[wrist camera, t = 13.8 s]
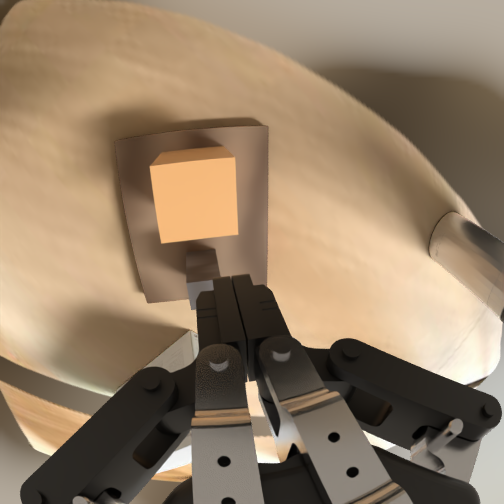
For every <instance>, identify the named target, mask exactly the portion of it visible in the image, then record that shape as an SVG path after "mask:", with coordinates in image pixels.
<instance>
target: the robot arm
mask: <svg viewBox="0 0 504 504" xmlns="http://www.w3.org/2000/svg"><path fill="white" fill-rule="evenodd" d="M429 252H430V256H431V258H432V259H433V260H434V261H436V262H437V263H438V264H439V265H440V266H442V267H443V268H444V269H445V270H447V271H448V272H449V273H450V274H451V275H452V276H454V277H455V278H456V279H457V280H458V281H459V282H461V283H462V284H463V285H464V286H465V287H466V288H467V289H469V290H470V291H471V292H472V293H473V294H474V295H475V296H476V297H477V298H478V299H479V300H481V301H482V302H483V303H484V304H485V305H486V306H487V307H488V308H489V309H490V310H491V311H492V312H493V313H494V314H495V315H496V316H497V317H498V318H499V319H500V320H501V321H502V322H503V323H504V243H503V242H502V241H501V240H499V239H498V238H496V237H495V236H493V235H492V234H490V233H489V232H487V231H486V230H484V229H483V228H481V227H479V226H478V225H476V224H475V223H473V222H472V221H470V220H468V219H467V218H465V217H463V216H462V215H460V214H458V213H456V212H450V213H448V214H446V215H445V216H444V217H443V218H442V219H441V220H440V221H439V223H438V224H437V226H436V227H435V229H434V231H433V234H432V237H431V240H430V245H429ZM212 281H213V290H211V291H202V292H200V294H199V295H198V297H197V299H196V311H197V312H196V313H197V330H198V344H199V352H198V355H197V357H196V359H195V360H194V361H193V362H192V363H191V364H190V365H188V366H187V367H185V368H182V369H180V370H177V371H174V372H171V373H170V372H169V371H168V370H166V369H164V368H161V367H156V366H155V367H147V368H144V369H142V370H140V371H138V372H137V373H136V374H135V375H134V376H133V377H132V378H131V379H130V380H129V381H128V382H127V383H126V384H125V385H124V386H123V387H122V388H121V389H120V390H119V391H118V392H117V393H116V394H115V395H114V396H113V397H111V398H110V400H108V401H107V403H105V404H104V405H103V406H102V408H100V409H99V410H98V411H97V412H96V413H95V414H94V415H93V416H92V417H91V418H90V419H89V420H88V421H87V422H86V423H85V424H84V425H83V426H82V427H81V428H80V429H79V430H78V431H77V432H76V433H75V434H74V435H73V436H72V437H71V438H69V439H68V440H67V441H66V442H65V443H64V444H63V445H62V446H61V447H60V448H59V449H58V450H57V451H56V452H55V453H54V454H53V455H52V456H51V457H50V458H49V459H48V460H47V461H46V462H45V463H44V464H43V465H42V466H41V467H40V468H39V469H37V470H36V471H35V472H34V473H33V474H32V475H31V476H30V477H29V478H28V479H27V480H26V481H25V482H24V483H23V485H22V487H21V491H20V497H21V501H22V504H129V503H130V502H131V501H132V500H133V498H134V497H135V496H136V495H137V494H138V493H139V492H140V491H141V490H142V488H143V487H144V486H145V485H146V484H147V483H148V482H149V480H150V479H151V478H152V477H153V476H154V475H155V474H156V472H157V471H158V470H159V469H160V468H161V467H162V465H163V464H164V463H165V462H166V461H167V459H168V458H169V457H170V456H171V455H172V453H173V452H174V451H175V450H176V448H177V447H178V446H179V445H180V444H181V442H182V441H183V440H184V439H185V437H186V436H187V435H188V434H189V432H190V431H191V455H192V477H191V478H189V479H187V480H185V481H184V482H182V483H181V484H180V485H178V486H177V487H176V488H175V489H174V490H173V491H172V492H171V493H170V494H169V496H168V497H167V498H166V500H165V501H164V502H163V503H162V504H480V499H479V495H478V493H477V491H476V490H475V488H474V487H473V486H472V485H470V484H469V481H470V477H471V474H472V472H473V468H474V465H475V461H476V458H477V455H478V451H479V447H480V442H481V439H482V438H483V437H484V436H485V435H486V434H487V433H489V432H490V431H491V430H492V429H493V428H494V427H496V426H497V425H498V423H499V422H500V420H501V416H502V410H501V406H500V404H499V402H498V400H497V399H496V398H495V397H493V396H491V395H489V394H486V393H484V392H481V391H478V390H476V389H473V388H471V387H468V386H465V385H463V384H460V383H458V382H455V381H453V380H450V379H448V378H445V377H443V376H440V375H438V374H435V373H433V372H430V371H428V370H426V369H423V368H421V367H418V366H416V365H414V364H411V363H409V362H407V361H404V360H402V359H400V358H397V357H395V356H393V355H390V354H388V353H386V352H383V351H381V350H379V349H377V348H374V347H372V346H370V345H368V344H365V343H363V342H361V341H359V340H356V339H351V338H345V339H340V340H338V341H336V342H335V343H333V344H332V346H331V348H330V349H316V348H308V347H305V346H302V345H301V343H300V342H299V341H298V340H296V339H295V338H293V337H292V336H291V334H290V332H289V330H288V327H287V325H286V323H285V320H284V318H283V316H282V314H281V311H280V309H279V307H278V304H277V302H276V300H275V297H274V295H273V293H272V291H271V290H270V289H269V288H268V287H266V286H265V285H264V284H261V285H253V282H252V280H251V277H250V274H241V275H232V276H231V277H230V276H224V277H215V278H212ZM247 374H248V378H249V382H250V381H256V382H257V386H258V397H259V401H260V403H261V406H262V409H263V411H264V414H265V417H266V419H267V422H268V425H269V427H270V430H271V432H272V435H273V438H274V441H275V445H276V451H277V454H278V458H279V460H280V463H258V462H257V456H256V450H255V443H254V437H253V430H252V423H251V417H250V413H249V409H248V402H247V395H246V387H245V382H247ZM362 430H364V431H366V432H368V433H370V434H373V435H375V436H377V437H379V438H381V439H384V440H386V441H388V442H391V443H393V444H395V445H398V446H401V447H403V448H405V449H408V450H410V453H411V456H410V461H408V460H406V459H404V458H401V457H399V456H397V455H395V454H393V453H390V452H388V451H386V450H384V449H382V448H380V447H377V446H374V445H371V444H370V443H369V441H368V439H367V438H366V436H365V434H364V432H363V431H362Z"/></svg>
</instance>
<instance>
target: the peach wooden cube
mask: <svg viewBox="0 0 504 504" xmlns="http://www.w3.org/2000/svg"><path fill="white" fill-rule="evenodd" d="M150 173H151V181H152V188H153V196H154V203H155V209H156V215H157V222H158V228H159V233H160V239H161V244H162V243H170V242H178V241H187V240H195V239H204V238H212V237H221V236H230V235H238V216H237V192H236V165H235V157H234V156H233V155H232V154H231V153H230V152H229V151H228V150H227V149H226V148H225V147H224V146H218V147H206V148H195V149H186V150H177V151H169V152H162V153H161V154H160V155H159V156H158V157H157V158H156V160H155V161H154V162H153V163H152V164H151V166H150Z"/></svg>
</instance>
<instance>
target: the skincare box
mask: <svg viewBox="0 0 504 504" xmlns="http://www.w3.org/2000/svg"><path fill="white" fill-rule="evenodd" d="M198 352H199V344H198V334H196V333H195V332H193V331H191V330H189V331H188V332H187V333H186V334H184V335H183V336H182V337H181V338H180V339H178V340H177V341H176V342H175V343H173V344H172V345H171V346H170V347H169V348H167V349H166V350H165V351H164V352H163V353H161V354H160V355H159V356H158V357H156V358H155V359H154V360H153V361H151V362H150V363H149V364H148V365H147V366H145V367H144V368H147V367H155V366H156V367H161V368H164V369H166V370H168V371H169V372H170V373H171V372H174V371H177V370H180V369H182V368H185V367H187V366H188V365H190V364H191V363H192V362H193V361H194V360H195V359H196V357H197V355H198ZM144 368H143V369H144ZM129 380H130V379H129ZM129 380H128V381H129ZM128 381H127V382H128ZM127 382H126V383H127ZM126 383H124V384H123V385H122V386H121V387H119V388H118V389H117V390H116V393H117V392H118V391H119V390H120V389H121V388H122V387H123V386H124V385H125V384H126ZM189 463H192V455H191V431H190V432H189V434H188V435H187V436H186V437H185V439H184V440H183V441H182V442H181V444H180V445H179V446H178V447H177V448H176V450H175V451H174V452H173V453H172V455H171V456H170V457H169V458H168V459H167V461H166V462H165V463H164V464H163V465H162V467H161V468H160V469H159V470H158V471H157V472H156V473H160V472H163V471H167V470H170V469H174V468H177V467H180V466H183V465H186V464H189Z"/></svg>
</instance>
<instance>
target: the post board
mask: <svg viewBox="0 0 504 504" xmlns="http://www.w3.org/2000/svg"><path fill="white" fill-rule="evenodd" d="M218 146H224V147H225V148H226V149H227V150H228V151H229V152H230V153H231V154H232V155H233V156H234V157H235V165H236V192H237V216H238V235H230V236H221V237H212V238H204V239H195V240H187V241H178V242H170V243H162V244H161V239H160V233H159V228H158V222H157V215H156V209H155V203H154V196H153V188H152V181H151V173H150V166H151V164H152V163H153V162H154V161H155V160H156V158H157V157H158V156H159V155H160V154H161V153H162V152H169V151H177V150H186V149H195V148H206V147H218ZM115 150H116V158H117V166H118V173H119V180H120V187H121V193H122V199H123V204H124V210H125V215H126V220H127V225H128V230H129V235H130V239H131V244H132V248H133V252H134V256H135V260H136V264H137V268H138V272H139V276H140V280H141V283H142V287H143V290H144V294H145V297H146V301H147V303H157V302H167V301H176V300H185V299H189V301H190V306H191V310H195V309H196V299H197V297H198V295H199V294H200V292H202V291H211V290H213V281H212V278H215V277H224V276H230V277H231V276H232V275H241V274H250V277H251V280H252V282H253V285H261V284H264V285H265V286H266V287H267V254H268V126H231V127H214V128H201V129H190V130H180V131H172V132H164V133H157V134H150V135H143V136H137V137H131V138H126V139H121V140H117V141H115Z"/></svg>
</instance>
